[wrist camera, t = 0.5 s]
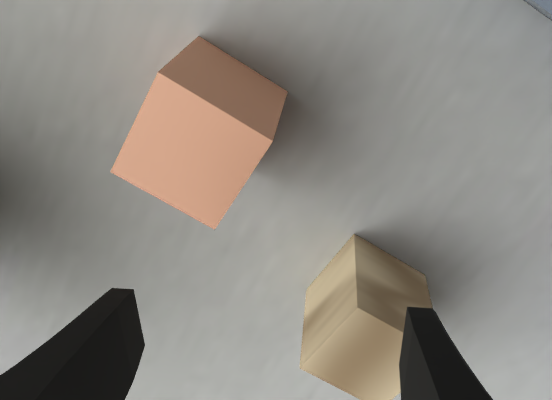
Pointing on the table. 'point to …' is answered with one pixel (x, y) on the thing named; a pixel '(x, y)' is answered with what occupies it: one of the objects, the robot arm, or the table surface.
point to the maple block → (360, 320)
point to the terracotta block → (201, 132)
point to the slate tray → (542, 6)
